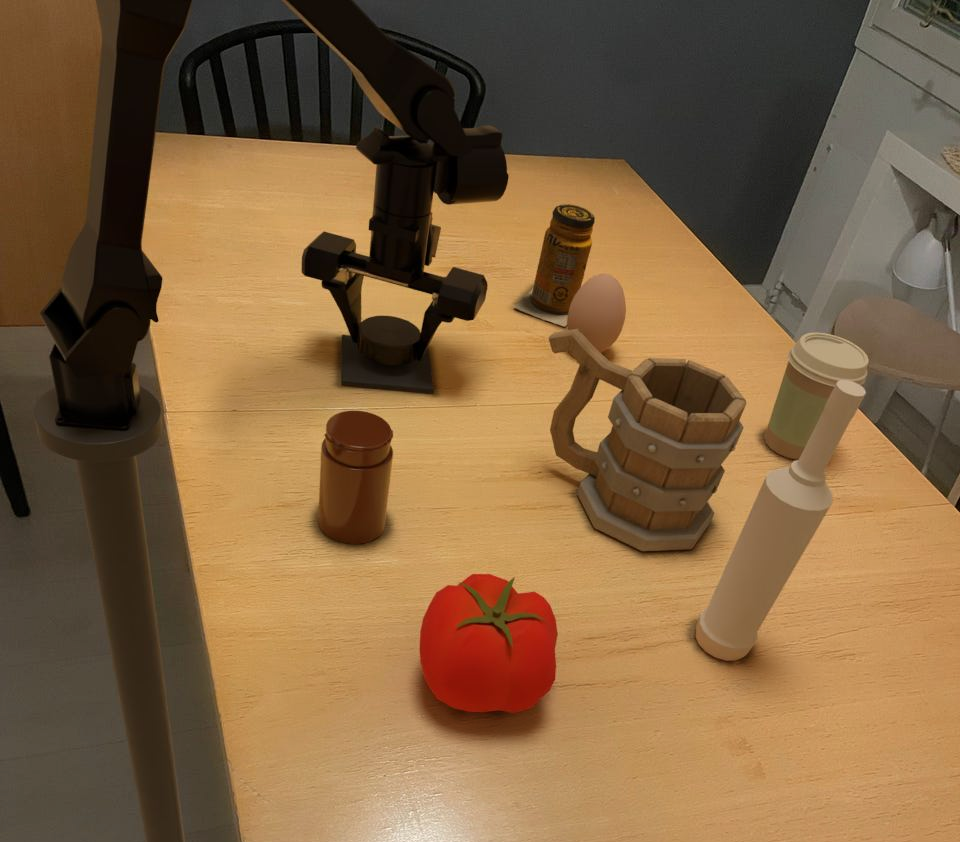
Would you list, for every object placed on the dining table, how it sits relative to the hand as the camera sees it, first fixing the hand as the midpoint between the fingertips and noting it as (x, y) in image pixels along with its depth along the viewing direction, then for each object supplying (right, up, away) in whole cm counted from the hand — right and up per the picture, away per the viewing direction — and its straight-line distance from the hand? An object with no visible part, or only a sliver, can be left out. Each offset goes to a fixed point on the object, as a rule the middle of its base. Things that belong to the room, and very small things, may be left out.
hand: (388, 350), depth 100 cm
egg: (+23, +3, +12) cm, 26 cm away
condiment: (+19, +11, +19) cm, 29 cm away
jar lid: (0, +1, -1) cm, 2 cm away
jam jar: (-1, -22, -18) cm, 28 cm away
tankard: (+23, -18, -9) cm, 30 cm away
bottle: (+31, -32, -21) cm, 50 cm away
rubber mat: (0, -1, +1) cm, 2 cm away
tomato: (+10, -36, -29) cm, 47 cm away
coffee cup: (+46, -10, +4) cm, 47 cm away
